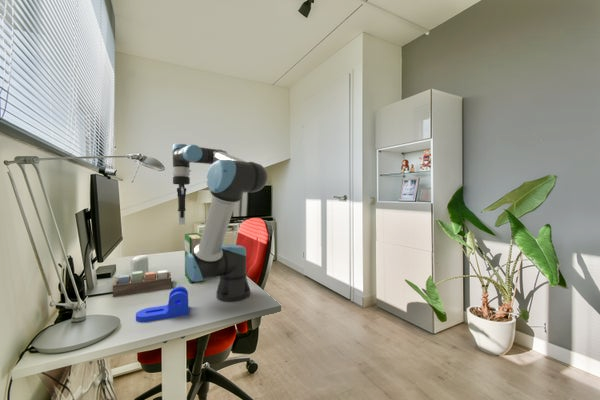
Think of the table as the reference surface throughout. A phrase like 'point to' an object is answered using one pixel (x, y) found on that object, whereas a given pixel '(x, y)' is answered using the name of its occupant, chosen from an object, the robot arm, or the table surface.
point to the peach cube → (149, 276)
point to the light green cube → (137, 276)
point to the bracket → (167, 307)
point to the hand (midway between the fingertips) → (181, 224)
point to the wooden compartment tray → (141, 285)
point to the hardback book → (191, 247)
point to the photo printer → (139, 264)
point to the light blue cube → (124, 279)
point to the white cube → (162, 274)
